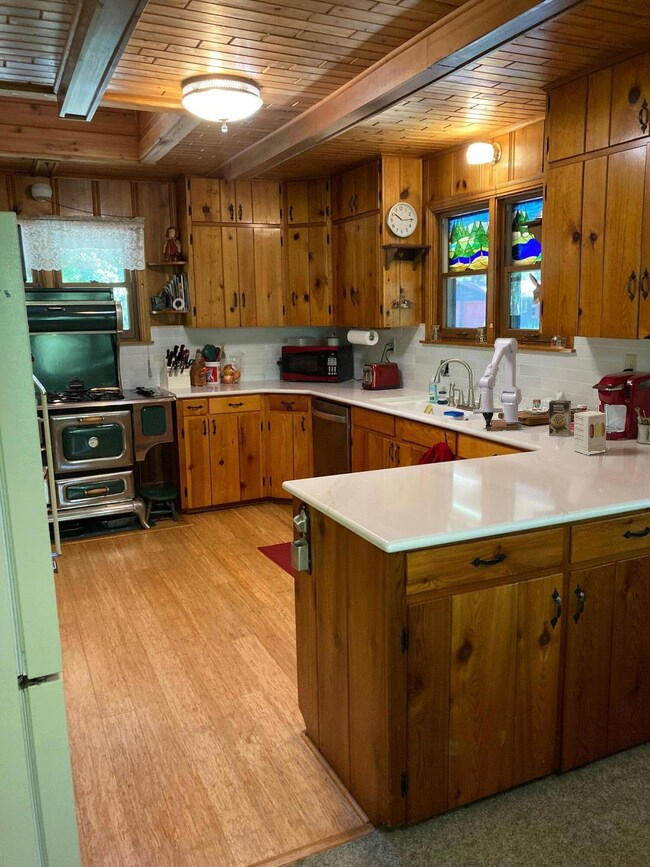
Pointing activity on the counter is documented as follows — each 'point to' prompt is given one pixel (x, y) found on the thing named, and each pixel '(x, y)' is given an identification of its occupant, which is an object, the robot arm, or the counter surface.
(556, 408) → the grey rectangular box
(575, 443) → the supplement box
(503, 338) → the robot arm
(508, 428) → the walnut chute
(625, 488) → the counter surface
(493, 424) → the block
